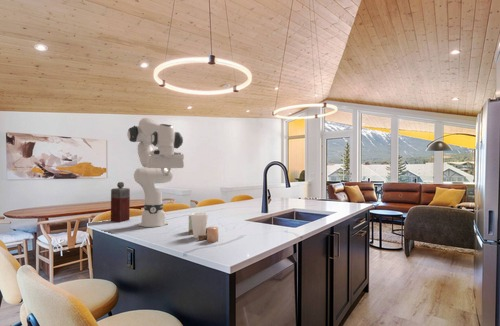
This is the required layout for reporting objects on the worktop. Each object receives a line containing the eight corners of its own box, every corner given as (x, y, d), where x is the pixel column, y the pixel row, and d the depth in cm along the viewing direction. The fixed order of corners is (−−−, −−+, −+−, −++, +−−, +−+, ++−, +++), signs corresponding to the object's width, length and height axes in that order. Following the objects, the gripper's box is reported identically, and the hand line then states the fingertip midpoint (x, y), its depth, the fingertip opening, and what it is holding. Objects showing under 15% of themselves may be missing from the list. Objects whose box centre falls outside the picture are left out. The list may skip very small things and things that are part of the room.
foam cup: (202, 239, 151) (202, 215, 152) (187, 238, 155) (187, 214, 155) (210, 235, 160) (210, 213, 161) (196, 234, 164) (196, 212, 164)
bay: (199, 240, 150) (199, 235, 150) (189, 234, 164) (189, 229, 164) (218, 237, 155) (218, 233, 155) (206, 231, 169) (207, 227, 169)
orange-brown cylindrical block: (206, 239, 151) (206, 226, 151) (217, 239, 153) (217, 226, 153) (207, 242, 145) (207, 229, 146) (219, 242, 147) (219, 228, 147)
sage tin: (188, 231, 170) (188, 215, 171) (197, 230, 174) (198, 214, 174) (191, 233, 165) (192, 216, 165) (201, 232, 168) (201, 215, 169)
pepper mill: (117, 218, 209) (118, 181, 209) (129, 219, 205) (130, 181, 205) (108, 221, 201) (108, 182, 201) (120, 222, 197) (120, 182, 197)
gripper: (182, 152, 168) (181, 175, 168) (146, 151, 157) (146, 176, 157) (185, 152, 162) (185, 176, 162) (148, 151, 152) (148, 176, 152)
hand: (165, 176), depth 160 cm, fingers closed
